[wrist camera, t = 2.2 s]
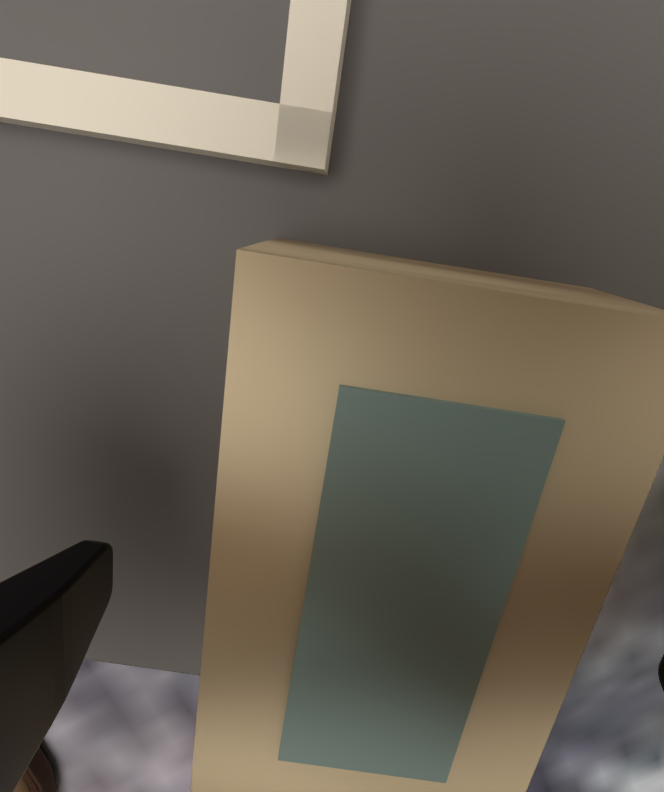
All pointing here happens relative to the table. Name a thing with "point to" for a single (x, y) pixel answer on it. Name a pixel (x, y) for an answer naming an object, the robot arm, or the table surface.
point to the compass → (37, 775)
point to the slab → (413, 517)
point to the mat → (271, 225)
